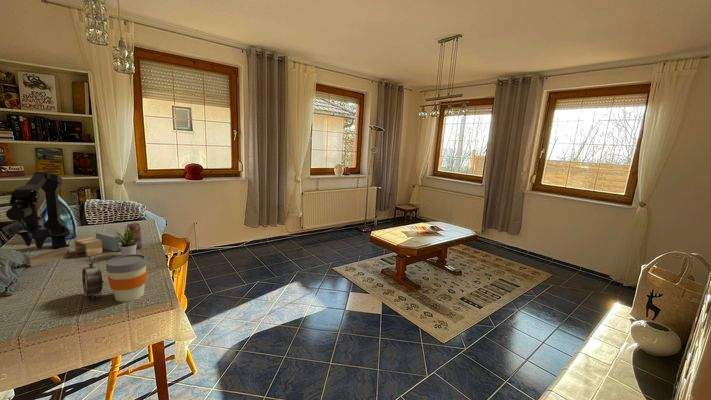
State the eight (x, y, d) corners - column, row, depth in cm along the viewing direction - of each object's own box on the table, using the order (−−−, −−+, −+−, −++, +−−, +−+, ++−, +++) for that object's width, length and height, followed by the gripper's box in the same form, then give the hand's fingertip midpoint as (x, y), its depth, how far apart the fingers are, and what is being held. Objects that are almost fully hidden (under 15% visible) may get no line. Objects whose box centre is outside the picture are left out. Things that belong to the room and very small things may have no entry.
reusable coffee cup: (117, 307, 106) (113, 269, 104) (103, 297, 113) (99, 260, 110) (155, 294, 117) (152, 258, 114) (140, 285, 123) (138, 251, 121)
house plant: (154, 254, 156) (151, 225, 153) (124, 263, 144) (121, 231, 141) (138, 249, 162) (135, 221, 159) (108, 257, 150) (105, 226, 147)
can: (135, 250, 160) (132, 226, 158) (125, 249, 162) (123, 225, 159) (144, 247, 166) (143, 223, 164) (135, 246, 167) (133, 222, 165)
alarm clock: (83, 293, 115) (78, 254, 112) (101, 289, 119) (96, 251, 116) (87, 304, 108) (83, 262, 105) (106, 299, 112) (102, 258, 109)
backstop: (97, 246, 164) (95, 232, 162) (101, 245, 166) (99, 232, 164) (115, 251, 158) (113, 237, 157) (119, 250, 160) (118, 236, 159)
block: (75, 253, 153) (73, 240, 151) (90, 249, 159) (89, 236, 157) (87, 256, 149) (86, 243, 148) (102, 252, 155) (101, 240, 154)
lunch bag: (37, 235, 177) (31, 192, 173) (75, 230, 190) (70, 190, 185) (39, 244, 163) (33, 198, 159) (80, 238, 176) (75, 195, 171)
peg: (25, 266, 136) (24, 258, 135) (64, 255, 150) (63, 248, 150) (31, 267, 135) (30, 259, 134) (69, 256, 149) (68, 249, 149)
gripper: (-8, 216, 130) (-2, 249, 133) (14, 221, 124) (19, 256, 127) (27, 211, 141) (32, 242, 143) (49, 216, 134) (53, 249, 137)
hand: (33, 247), depth 137 cm, fingers open, 9 cm apart
